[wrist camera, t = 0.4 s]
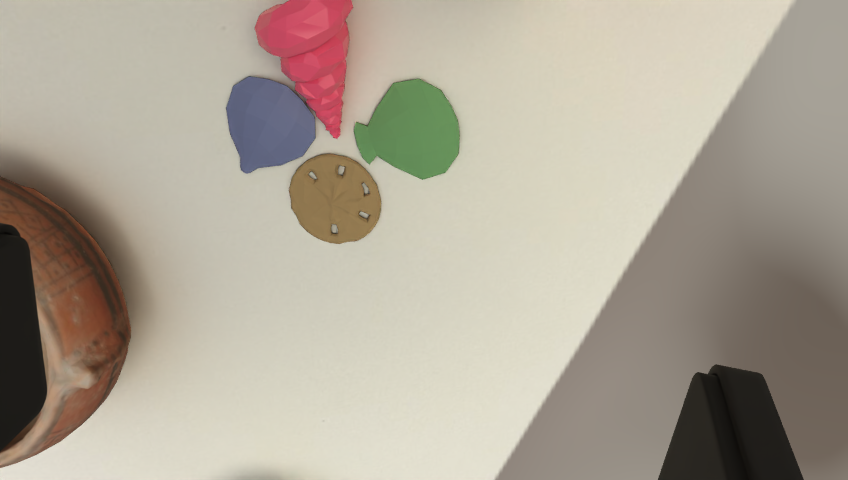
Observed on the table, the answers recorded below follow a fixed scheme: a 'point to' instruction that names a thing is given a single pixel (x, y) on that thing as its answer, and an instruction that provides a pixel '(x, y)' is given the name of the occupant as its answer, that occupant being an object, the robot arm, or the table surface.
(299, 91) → the toy pieces
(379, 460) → the table surface
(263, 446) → the table surface
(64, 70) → the table surface
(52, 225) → the bowl
